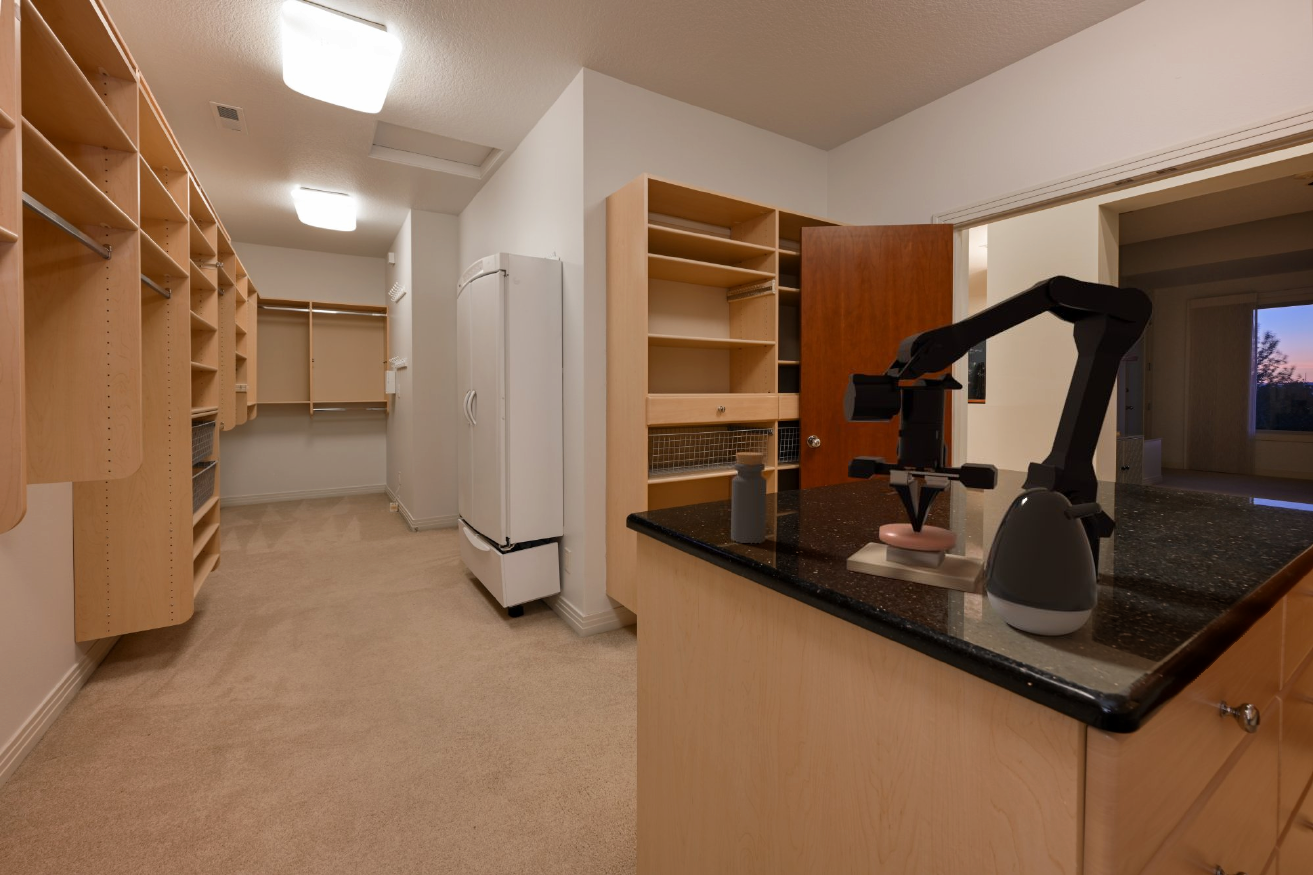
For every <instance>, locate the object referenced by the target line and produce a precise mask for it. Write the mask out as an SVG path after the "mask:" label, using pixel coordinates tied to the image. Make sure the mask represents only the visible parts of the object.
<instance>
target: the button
mask: <svg viewBox="0 0 1313 875" xmlns="http://www.w3.org/2000/svg"><path fill="white" fill-rule="evenodd" d="M878 533H879V535H878V539H879V540H880V541H881V542H883V543H885V544H886V545H894V546H898V547H903V548H908V549H916V550H924V551H929V550H930V551H938V550H946V551H948V550H952V549H955V548H956V547H957V534H956V533H955V532H954V531H951V530H949V529H945V528H943V527H938V526H933V525H926V524H924V525H923V528H922V530H921V532H914V531H913V528H912V525H911V523H889V524H884V525H881V526H879V532H878Z"/></svg>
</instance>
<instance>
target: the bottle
mask: <svg viewBox="0 0 1313 875" xmlns="http://www.w3.org/2000/svg"><path fill="white" fill-rule="evenodd" d="M764 456H765V454H764V453H762V452H754V451H753V452H752V451H751V452H749V451H748V452H747V451H746V452H745V451H744V452H743V451H742V452H736V453H735V457H736V463H734V470H736V471H737V475H735V476H734V477H733V478H732V479H731V512H730V513H731V517H730V518H731V523H730V524H731V525H730V526H731V527H730V538H731V541H732V540H733V542H734V541H736V542H735V543H737V542H740V543H739V544H742V543H751V544H750V545H753V544H752V543H755V544H754V545H757V544H756V543H759V544H763V543H765V542H764V541H766V532H767V531H766V530H767V528H766V527H767V526H766V525H767V479H766V478H765V477H764V476H762V471H765V468H766V465H765V464H764V463H763V459H764ZM762 542H763V543H762Z"/></svg>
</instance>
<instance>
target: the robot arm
mask: <svg viewBox="0 0 1313 875" xmlns="http://www.w3.org/2000/svg"><path fill="white" fill-rule="evenodd" d="M1045 312H1048V313H1049V314H1051V315H1053V316H1054V317H1055V318H1057V319H1059V320H1061V321H1062V322H1066V323H1069V324H1073V331H1072V332H1073V333H1072V337H1073V340H1074V344H1075V347H1076V351H1077V358H1076V362H1075V365H1074V370H1073V373H1072V376H1071V381H1070V383H1069V387H1068V390H1067V395H1066V397H1065V401H1064V405H1063V408H1062V411H1061V415H1060V419H1059V422H1058V427H1057V428H1056V433H1055V436H1054V440H1053V444H1052V447H1051V451H1049V452H1050V453H1049V454H1048V456H1046V458H1044V460H1043V461H1041V463H1039V462H1033V461H1031V462H1029V464H1028V467H1027V475H1026V479H1025V481H1024V483H1023V484H1022V486H1021V487H1020V488H1021V490H1024V491H1026V490H1029V489H1033V488H1049V489H1052V490H1055V491H1057V492H1059V493H1061V494H1063V495H1064V496H1065V497H1066V498H1067V499H1068V500H1069V501H1070V503H1071V504H1072V506H1073V505H1080V504H1087V503H1095V502H1097V500H1098V493H1099V492H1098V491H1099V483H1098V479H1097V475H1096V474H1097V473H1096V471H1095V467H1094V457H1095V453H1096V451H1097V446H1098V443H1099V440H1100V436H1101V432H1102V429H1103V426H1104V423H1105V422H1104V421H1105V419H1106V415H1107V412H1108V408H1109V404H1110V401H1111V399H1112V395H1113V391H1114V387H1115V384H1116V381H1117V379H1118V374H1119V370H1120V368H1121V363H1122V360H1123V359H1124V357H1125V356H1126V355H1127V354H1128V352H1130V351H1131V349H1132V348H1134V346H1135V345H1136V344H1137V343H1138V342H1139V341H1140V340H1141V338H1142V337H1143V335H1144V333H1145V331H1146V328H1147V327H1148V325H1149V323H1150V321H1151V318H1152V316H1153V312H1154V301H1152V300H1151V299H1150V297H1149V296H1148V294H1147V293H1146V292H1145V291H1143V290H1142V289H1139V288H1137V287H1131V286H1130V287H1124V288H1122V287H1119V286H1115V285H1111V284H1105V283H1098V282H1092V281H1091V282H1090V281H1085V280H1080V279H1077V278H1073V277H1070V276H1066V275H1059V274H1058V275H1055V276H1053V277H1049V278H1047V279H1042V280H1040V281H1036V283H1034V284H1033V285H1032V286H1031V287H1029V288H1027V289H1025V290H1023V291H1021V292H1018V293H1016V294H1014V295H1012V296H1010V297H1008V298H1006V299H1004V300H1002V301H999V302H998V303H995V304H993V305H991V306H989V307H987V308H985V309H983V310H981V311H979V312H976V313H974V314H973V315H970V316H968V317H966V318H964V319H962V320H960V321H957V322H956V323H951V324H948V325H943V326H941V327H937V328H934V329H930V330H927V331H923V332H919V333H916V334H912V335H910V336H908V337H906V338H905V339H903V340H902V341H901V342H900V343H899V346H898V348H897V357H896V358H895V360H893V362H892V363H891V364H890V365H889V367H888V368H887V369H886V370H885V372H884V373H883V374H879V375H878V374H866V373H850V374H849V376H848V377H849V381H848V384H847V387H846V390H845V396H844V397H843V412H844V417H845V420H846V422H848V423H849V422H850V423H851V422H855V423H857V422H861V423H862V422H864V423H866V422H867V423H870V422H872V423H873V422H874V423H882V422H883V423H890V422H891V420H892V419H893V418H894V416H898V415H899V429H898V439H897V444H896V450H895V451H896V452H895V455H896V456H897V457H898V458H897V463H895V462H894V463H893V462H886V461H885V457H880V456H866V455H865V456H864V455H860V456H857V457H854V458H852V459H851V460H850V461H849V462H848V465H847V477H848V478H851V479H864V480H870V479H871V478H872V477H874V476H875V475H876V476H879V475H880V476H889V477H890V479H889V482H888V484H887V485H888V487H889V488H893V489H895V490H896V494H898V497H899V499H900V501H901V502H902V504H903V506H904V509H905V511H906V514H907V517H908V519H909V522H910V524H911V525H912V528H913V531H914V532H921V530H922V528H923V525H925V522H926V520H927V517H928V515H929V513H930V509H931V507H932V505H933V504H934V501H935V499H936V498H937V496H938V495H939V493H945V492H946V491H948V489H950V488H951V483H950V481H954V482H955V481H956V482H960V483H961V484H962V485H963V486H964V488H966V489H967V488H968V489H976V490H977V489H979V490H988V491H989V490H995V488H996V487H997V486H998V477H999V476H998V475H999V470H998V467H996V466H995V465H994V464H992V463H991V464H990V463H976V462H975V463H974V462H965V463H963V464H962V465H960V467H953V466H952V467H951V466H947V465H948V454H949V447H948V445H947V443H946V441H945V438H944V437H945V422H946V421H945V419H946V418H945V416H946V398H947V397H946V394H947V392H946V391H961V390H963V387H964V385H963V384H962V383H961V382H959V381H958V380H957V379H955V378H954V377H953V375H952V373H950V372H943V373H942V374H940V376H938V377H937V378H935V377H934V378H933V377H932V378H930V377H929V378H928V377H927V378H925V377H924V378H923V377H922V376H924V375H928V374H935V373H939V372H942V371H944V370H946V369H948V368H949V367H950V366H952V365H953V364H955V363H956V362H957V361H959V360H960V359H962V358H963V357H964V356H966V354H967V353H969V352H970V351H971V350H972V349H973V348H974V347H976V346H977V345H979V344H980V343H982V342H985V341H987V340H989V339H991V338H993V337H995V336H997V335H999V334H1001V333H1003V332H1007V331H1008V330H1009V329H1012V328H1014V327H1015V326H1018V325H1020V324H1022V323H1024V322H1026V321H1029V320H1031V319H1033V318H1034V317H1038V316H1039V315H1041V314H1043V313H1045ZM920 377H921V378H920ZM902 381H914V383H913V385H900V384H899V382H902ZM915 478H918V479H919V478H920V479H924V481H925V483H924V484H922V485H921V486H920V489H919V490H920V491H919V499H918V485H919V480H917V479H915ZM1080 520H1081V522H1082V525H1083V527H1084V530H1085V532H1086V535H1087V538H1088V541H1089V544H1090V548H1091V552H1092V556H1093V561H1094V566H1095V573H1096V583H1100V580H1101V579H1100V574H1099V566H1100V548H1101V539H1104V538H1105V539H1106V538H1107V539H1109V538H1110V539H1111V537H1112V534H1113V533H1114V530H1115V528H1116V526H1117V524H1116V522H1115V521H1114V519H1113V518H1111V517H1110V515H1108V514H1107V512H1105V511H1104V510H1103V509H1102V511H1101V512H1100V513H1095V514H1093V515H1089V516H1085V517H1082V518H1080Z"/></svg>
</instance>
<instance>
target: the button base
mask: <svg viewBox="0 0 1313 875" xmlns="http://www.w3.org/2000/svg"><path fill="white" fill-rule="evenodd" d="M946 551H947V550H938V551H930V550H929V551H924V550H916V549H908V548H903V547H898V546H894V545H890V544H886V543H885V544H884V543H883V544H882V543H876V542H869V543H866V545H865V546H863V547H862V548H860V549H859V550H858V551H856V552H855V553H854V554H852V555H851V556H850V557H848V558H846V571H851V572H856V573H861V574H867V575H873V576H878V577H884V578H890V579H895V580H901V581H906V582H912V583H917V584H918V583H919V584H923V585H927V586H928V585H929V586H935V587H940V588H946V589H952V590H957V591H963V592H968V593H974V592H975V590H976V588H977V585H978V583H979V582H980V579H981V577H982V575H983V573H984V572H985V562H986V561H985V558H979V557H971V556H965V555H960V554H959V555H956V554H951V553H947V552H946Z"/></svg>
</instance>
